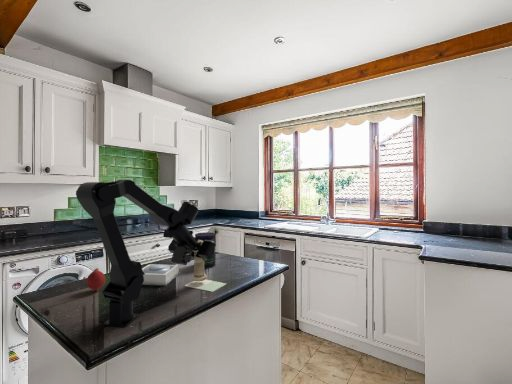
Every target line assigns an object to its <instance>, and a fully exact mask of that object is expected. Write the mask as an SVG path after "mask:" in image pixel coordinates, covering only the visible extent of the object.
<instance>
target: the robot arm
mask: <svg viewBox="0 0 512 384" xmlns="http://www.w3.org/2000/svg"><path fill="white" fill-rule="evenodd" d="M75 195H76V199H77V201H78V203H79V204H80V205H81V207H82V208H83V211H85V212H86V213H87V214H88V215H89V216H90V217H91V218H92V219H93V222H94V224H95V228H96V230H97V232H98V235H99V237H100V239H101V242H102V245H103V248H104V250H105V253H106V255H107V257H108V260H109V262H110V271H109V274H108V275H109V279H110V281H109V282H108V283H107V285H105V287H104V288H103V290H102V291H101V294H102V296H103V299H105V300H109V302H108V319H107V320H106V321H105V322H104V323H103V326H106V327H107V326H108V327H127V326H129V324H131V323H132V322H133V321H134V320H136V318H137V317H139V314H138V313H134V301H136V300H138V299H139V298H140V295H141V294H140V293H141V290H142V287H143V285H142V284H143V282H144V276H143V275H145V273H144V272H143V270H142V268H143V267H142V264H141V262H140V261H135V260H132V259H131V258H130V255H129V253H128V249H127V246H126V244H125V241H124V239H123V236H122V233H121V230H120V227H119V224H118V221H117V219H116V215H115V207H116V199H118V198H122V197H124V198H126V199H127V200H129V201H130V202H131V203H132V204H134V205H136V206H137V207H139V208H140V209H142V210H143V211H144V212H146V213H147V214H148V215H149V217H150V219H151V220H152V221H153V222H154V223H155V224H156V226H160V227H166V229H164V230H163V231H164V233H163V234H162V235H163V238H166V239H167V238H169V239H172V238H173V239H172V240H171V242H170V243H169V245H168V251H169V253H171V254H172V256H171V260H170V261H171V262H172V263H174V264H175V265H181V266H186V265H188V264H189V263H191V260H192V258H193V259H194V251H197V254H196V256H195V257H200V258H202V259H203V260H204V261H206V259H207V258H210V256H211V254H212V252H213V250H214V248H215V249H216V246H217V244H215V242H214V241H211V240H204V241H203V242H199V243H197V241H198V240H199V239H198V238H196V237H195V235H193V234H194V232H193V230H189V229H188V227H186V226H189V225H190V226H191V224H192V223H193V222H194V221H195V218H196V216H197V215H198V213H199V211H200V210H199V208H198V207H197V206H195V205H194V204H193V203H190V202H189V201H183V202H182V203H181V206H180V208H179V209H178V210H177V209H176V208H173V207H172V206H169V205H166V204H163V203H160V201H158V200H157V199H155V198H154V197H153V196H152V195H150V194H149V193H148V192H146V190H143V189H142V187H140V186H139V185H137V184H136V183H135V181H134V180H132V179H118V180H115V181H108V182H104V181H91V182H90V181H88V182H83V183H81V184H80V185H79V186H78V188H77V189H76V191H75Z"/></svg>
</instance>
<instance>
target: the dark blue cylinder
mask: <svg viewBox="0 0 512 384" xmlns="http://www.w3.org/2000/svg"><path fill="white" fill-rule="evenodd" d="M194 237H196V238H198V239H199V240H202V241H204V240H211V241H214V242H215V244H216V241H217V240H216V233H214V232H198V233H197V232H196V233H195V234H194ZM216 245H217V244H216ZM216 260H217V255H216V247H215V248H214V250H213V252H212V254H211V256H210V258H207V259H206V261H204V269H212V268H214V267H215V266H216V265H217V264H216Z"/></svg>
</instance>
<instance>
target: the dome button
mask: <svg viewBox="0 0 512 384" xmlns="http://www.w3.org/2000/svg"><path fill="white" fill-rule="evenodd" d="M167 265H168V264H159V263H158V264H157V265H152V266H149V267H146V268H145V269H144V273H151V274H165V273H166V272H168V271H169V270H170V267H169V266H167Z"/></svg>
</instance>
